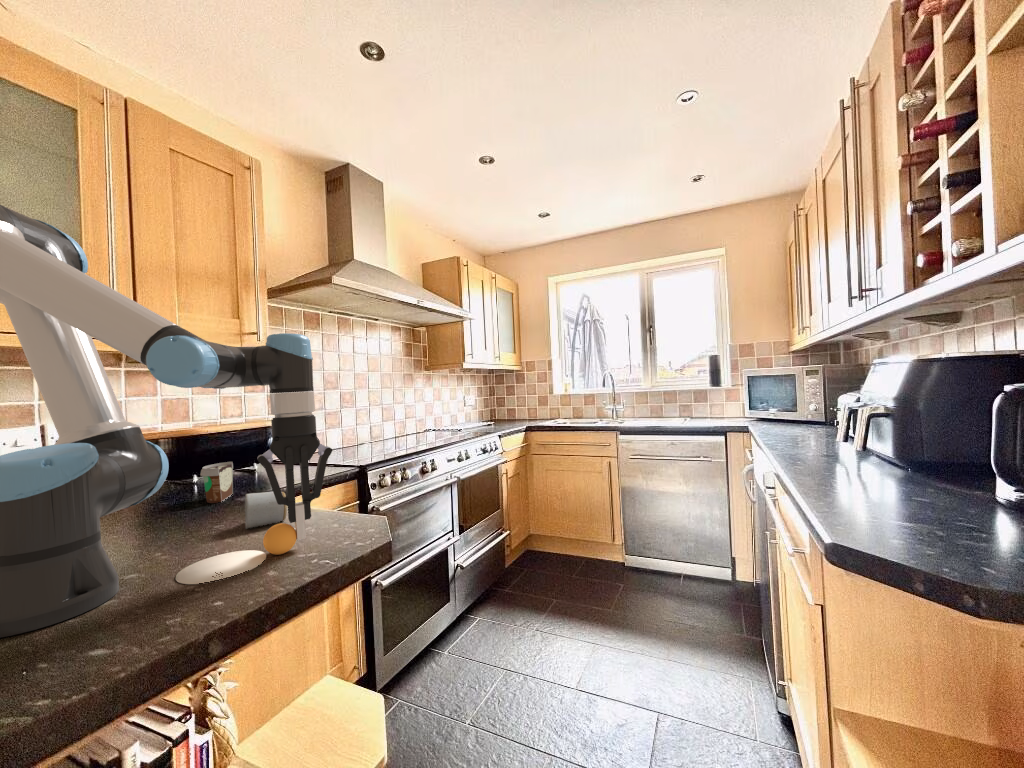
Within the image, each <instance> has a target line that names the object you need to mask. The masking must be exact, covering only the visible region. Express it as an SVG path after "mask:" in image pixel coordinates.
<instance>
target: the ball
mask: <svg viewBox="0 0 1024 768" xmlns="http://www.w3.org/2000/svg"><path fill="white" fill-rule="evenodd" d="M296 542H297V533H296V528H295V527H293V526H292V525H291V524H290V523H289V524H288V523H285V522H279V523H275V524H274V525H272V526H271V527H269V528H268V529H267V530H266V533H265V534H264V535H263V539H262V544H263V548H264V549H265V550H266V551H267V552H268V553H269V554H271V555H275V556H276V555H283V554H286V553H288V552H289V551H290V550H291V549H292V548H293V547H295V544H296Z"/></svg>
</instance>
